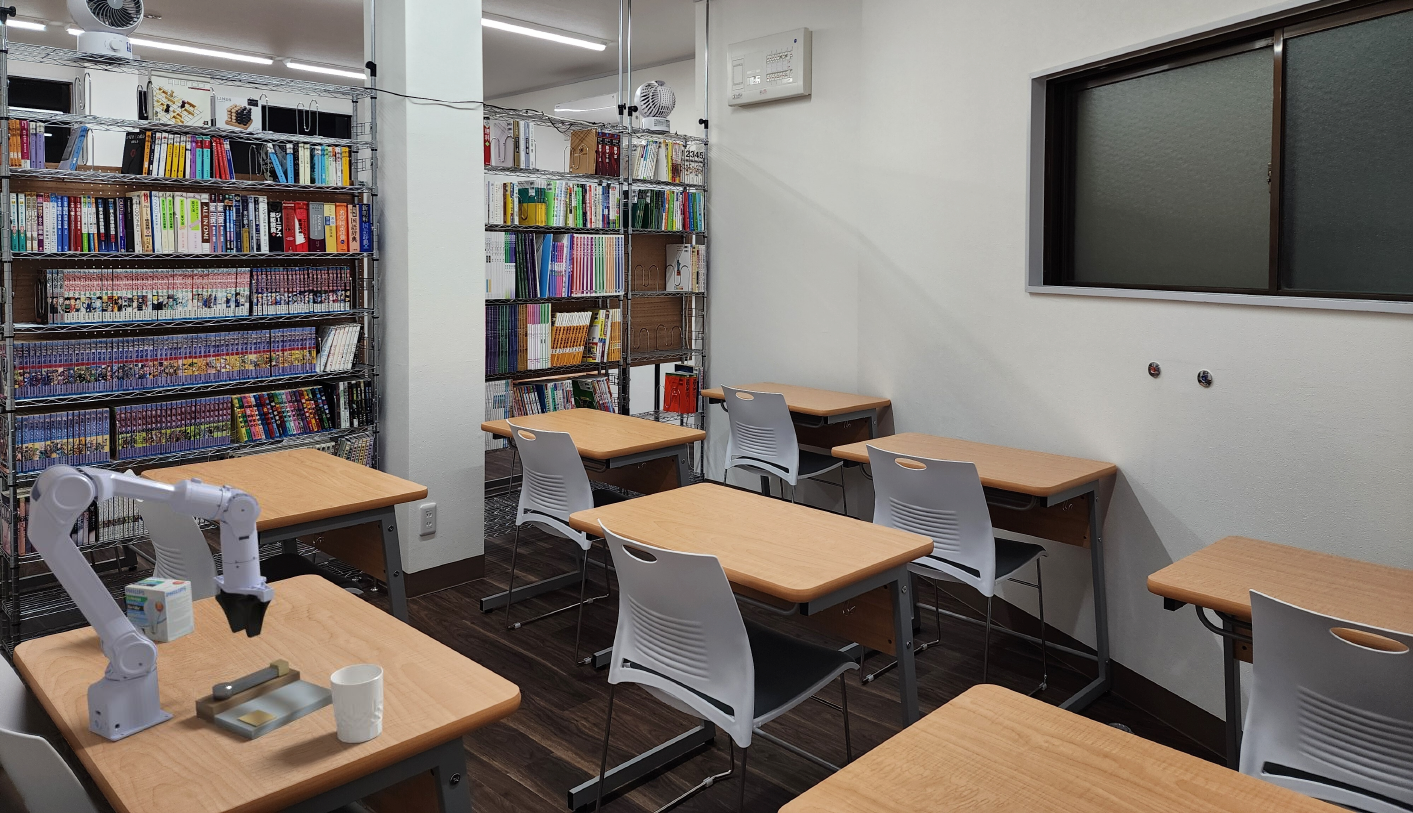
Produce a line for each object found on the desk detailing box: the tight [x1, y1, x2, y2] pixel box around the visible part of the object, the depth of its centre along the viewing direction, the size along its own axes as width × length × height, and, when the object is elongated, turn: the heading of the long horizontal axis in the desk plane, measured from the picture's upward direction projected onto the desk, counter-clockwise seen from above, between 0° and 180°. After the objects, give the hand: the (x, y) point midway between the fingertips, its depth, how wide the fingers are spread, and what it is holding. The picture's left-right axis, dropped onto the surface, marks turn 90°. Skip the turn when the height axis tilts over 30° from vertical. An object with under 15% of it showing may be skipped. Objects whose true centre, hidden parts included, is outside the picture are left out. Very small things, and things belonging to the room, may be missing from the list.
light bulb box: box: [124, 576, 195, 643], centre depth 190 cm, size 11×7×11 cm, turn 73°
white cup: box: [329, 663, 384, 744], centre depth 148 cm, size 8×8×10 cm
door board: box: [194, 667, 333, 741], centre depth 157 cm, size 16×15×3 cm
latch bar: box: [211, 658, 290, 700], centre depth 159 cm, size 13×3×2 cm, turn 149°
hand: (246, 633), depth 163 cm, fingers open, 4 cm apart
